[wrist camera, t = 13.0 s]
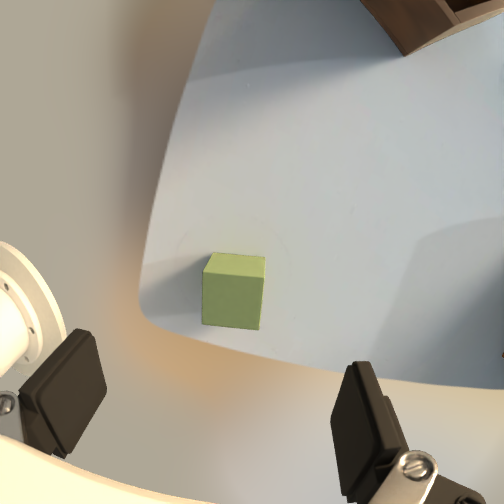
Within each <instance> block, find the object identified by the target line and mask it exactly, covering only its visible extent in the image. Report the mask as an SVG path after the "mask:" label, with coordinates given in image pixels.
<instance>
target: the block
mask: <svg viewBox="0 0 504 504" xmlns="http://www.w3.org/2000/svg"><path fill="white" fill-rule="evenodd" d="M264 279H265V257H255V256H244V255H234V254H223V253H213V254H212V256H211V257H210V259H209V261H208V263H207V265H206V267H205V268H204V270H203V276H202V324H204V325H212V326H221V327H230V328H240V329H250V330H259V327H260V317H261V308H262V298H263V289H264Z"/></svg>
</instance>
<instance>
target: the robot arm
mask: <svg viewBox="0 0 504 504" xmlns="http://www.w3.org/2000/svg"><path fill="white" fill-rule="evenodd" d="M42 349H43V336H42V331H41V327H40V324H39V321H38V318H37V315H36V313H35V311H34V309H33V307H32V305H31V303H30V301H29V300H28V298H27V296H26V295H25V294H24V292H23V291H22V289H21V288H20V287H19V286H18V284H17V283H16V282H15V281H14V280H13V279H12V278H11V277H10V276H8V275H7V274H6V273H4V272H3V271H1V270H0V378H1V376H3V375H4V374H5V372H6V371H7V370H8V369H9V368H10V367H11V366H12V365H13V364H14V363H15V362H16V363H19V364H24V365H28V364H32V363H33V362H34V361H36V360H37V358H38V357H39V356H40V355H41V352H42ZM18 391H19V393H20V394H19V395H18V396H16V394H14V393H13V392H10V391H0V504H217V503H210V502H203V501H197V500H191V499H186V498H180V497H175V496H170V495H166V494H162V493H157V492H153V491H149V490H145V489H142V488H138V487H134V486H131V485H127V484H124V483H121V482H118V481H114V480H111V479H108V478H105V477H102V476H99V475H96V474H94V473H91V472H88V471H86V470H83V469H81V468H78V467H75V466H73V465H70V464H68V463H66V462H63V461H61V460H59V459H56V458H54V457H52V456H51V454H52V453H53V454H54V455H56V456H58V457H60V458H63V459H65V457H66V456H67V454H70V453H72V451H73V449H74V448H75V446H76V444H77V442H78V441H79V439H80V437H81V436H82V434H83V432H84V430H85V429H86V427H87V425H88V424H89V422H90V420H91V419H92V417H93V415H94V414H95V412H96V410H97V408H98V407H99V405H100V404H101V402H102V400H103V398H104V397H105V395H106V392H107V386H106V383H105V379H104V375H103V371H102V367H101V363H100V359H99V355H98V350H97V346H96V341H95V338H94V336H92V334H91V333H90V332H89V331H86V330H82V329H75V330H73V332H72V333H71V334H70V335H69V336H68V337H67V338H66V339H65V340H64V341H63V342H62V343H61V344H60V345H59V346H58V347H57V348H56V349H55V350H54V351H53V352H52V354H51V355H50V356H49V357H48V358H47V359H46V360H45V361H44V362H43V363H42V364H41V365H40V367H39V368H38V369H37V370H36V371H35V372H34V373H33V374H32V375H31V376H30V378H29V379H28V380H27V381H26V382H25V383H24V384H23V386H22V387H21V388H20V389H19V390H18ZM330 423H331V430H332V436H333V442H334V448H335V454H336V460H337V466H338V473H339V480H340V487H341V493H342V496H347V503H354V502H357V504H486V502H485V500H484V498H483V497H482V496H481V494H479V493H478V492H476V491H473V490H471V489H469V488H467V487H465V486H462V485H460V484H458V483H456V482H454V481H451V480H449V479H447V478H445V477H443V476H441V475H439V474H437V472H438V466H437V463H436V461H435V459H434V458H433V457H432V456H431V455H429V454H428V453H426V452H423V451H420V450H412V451H409V448H408V445H407V443H406V440H405V437H404V435H403V432H402V429H401V427H400V424H399V421H398V419H397V416H396V413H395V411H394V408H393V406H392V404H391V401H390V399H389V397H388V396H383V394H382V391H381V388H380V386H379V384H378V381H377V378H376V376H375V373H374V371H373V368H372V366H371V364H370V362H369V361H354V362H353V363H352V365H348V366H347V368H346V372H345V375H344V378H343V381H342V385H341V388H340V391H339V394H338V397H337V400H336V403H335V406H334V409H333V411H332V415H331V421H330Z"/></svg>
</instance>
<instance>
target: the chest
mask: <svg viewBox="0 0 504 504" xmlns="http://www.w3.org/2000/svg"><path fill="white" fill-rule="evenodd" d="M360 1H361V2H362V3H363V4H364V6H365V7H366V8H367V9H368V10H369V11H370V13H371V14H372V15H373V16H374V17H375V19H376V20H377V21H378V22H379V24H380V25H381V26H382V27H383V29H384V30H385V31H386V33H387V34H388V35H389V36H390V38H391V39H392V41H393V42H394V43H395V45H396V46H397V47H398V49H399V50H400V52H401V53H402V54H403V56H404V57H406V56H408V55H410V54H412V53H414V52H416V51H418V50H420V49H422V48H424V47H426V46H428V45H431V44H433V43H435V42H437V41H439V40H441V39H444V38H446V37H448V36H450V35H453V34H455V33H457V32H459V31H462V30H464V29H467V28H469V27H471V26H474V25H476V24H479V23H481V22H484V21H486V20H488V19H490V18H492V17H494V16H496V15H498V14H500V13H502V12H504V0H360Z"/></svg>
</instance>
